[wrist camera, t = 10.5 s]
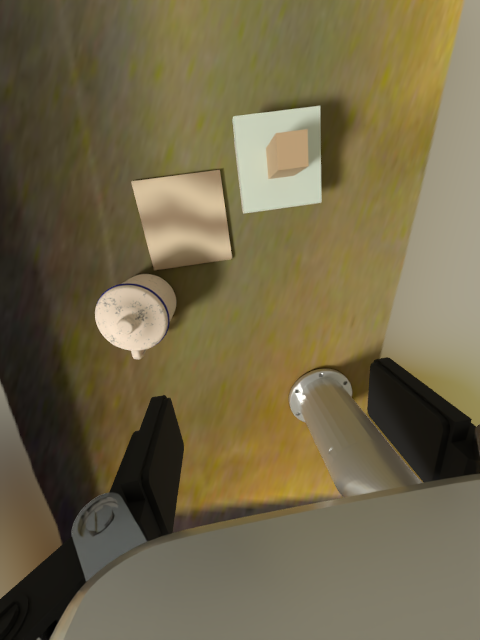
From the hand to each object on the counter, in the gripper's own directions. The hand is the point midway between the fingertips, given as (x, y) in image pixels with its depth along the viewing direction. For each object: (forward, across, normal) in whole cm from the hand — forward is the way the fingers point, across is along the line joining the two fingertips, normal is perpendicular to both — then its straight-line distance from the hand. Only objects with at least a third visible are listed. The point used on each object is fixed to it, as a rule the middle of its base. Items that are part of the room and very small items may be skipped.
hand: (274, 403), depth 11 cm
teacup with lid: (+31, +14, +3) cm, 34 cm away
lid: (+26, -8, -14) cm, 30 cm away
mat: (+30, +6, -9) cm, 32 cm away
